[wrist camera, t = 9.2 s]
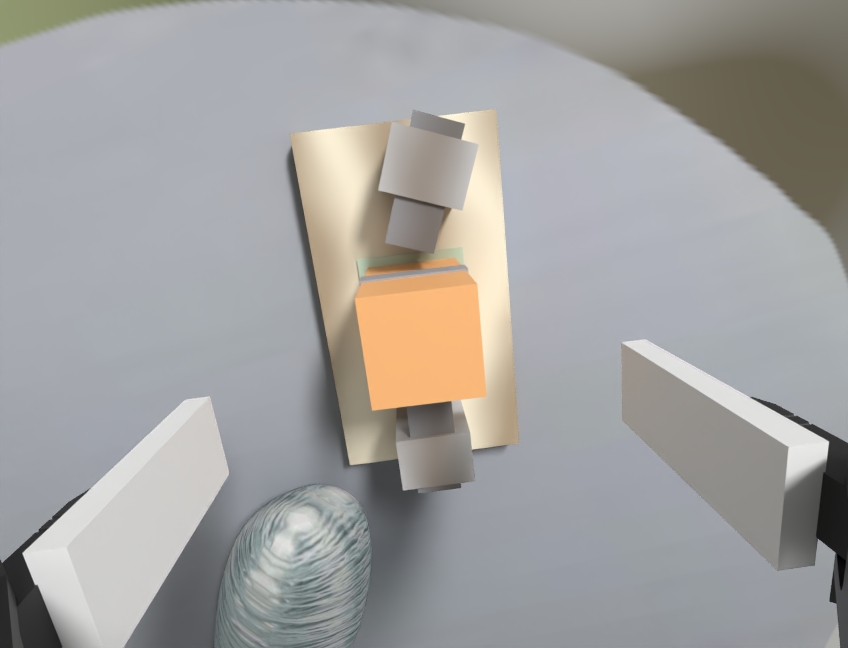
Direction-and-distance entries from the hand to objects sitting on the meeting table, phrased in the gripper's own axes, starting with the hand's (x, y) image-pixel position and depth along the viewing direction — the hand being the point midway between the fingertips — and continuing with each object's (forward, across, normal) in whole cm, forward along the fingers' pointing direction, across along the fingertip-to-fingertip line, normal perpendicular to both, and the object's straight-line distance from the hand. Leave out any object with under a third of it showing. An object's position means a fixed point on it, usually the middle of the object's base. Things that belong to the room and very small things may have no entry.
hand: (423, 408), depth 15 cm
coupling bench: (+15, 0, 0) cm, 15 cm away
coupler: (+13, 0, 0) cm, 13 cm away
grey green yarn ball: (+15, -10, -16) cm, 25 cm away
